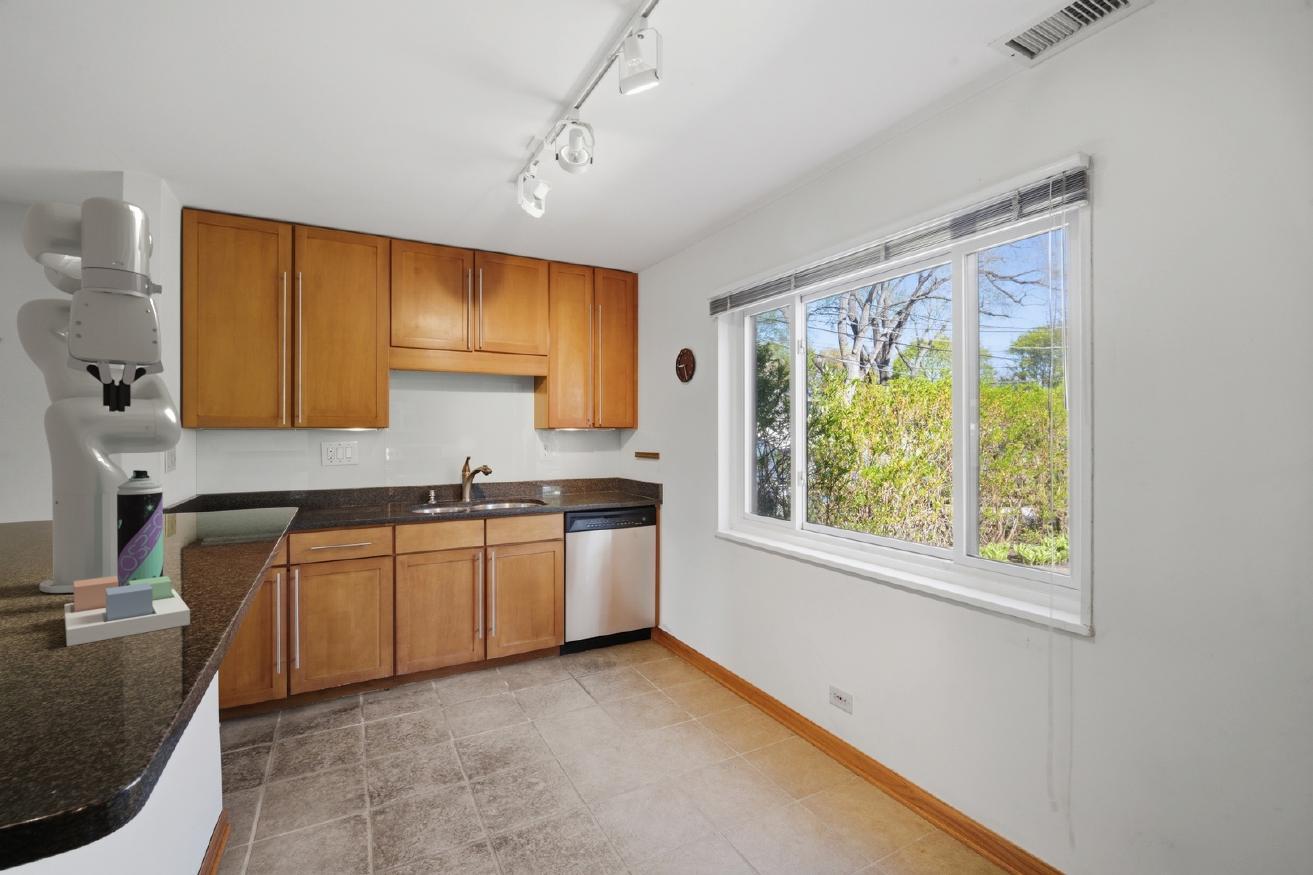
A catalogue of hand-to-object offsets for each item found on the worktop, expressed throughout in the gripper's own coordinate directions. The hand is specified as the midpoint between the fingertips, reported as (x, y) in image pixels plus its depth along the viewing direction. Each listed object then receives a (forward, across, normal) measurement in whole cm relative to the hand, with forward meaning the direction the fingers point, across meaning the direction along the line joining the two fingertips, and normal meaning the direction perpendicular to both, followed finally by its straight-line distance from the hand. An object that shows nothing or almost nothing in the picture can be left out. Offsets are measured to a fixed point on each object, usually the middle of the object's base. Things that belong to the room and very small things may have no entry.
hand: (116, 411), depth 90 cm
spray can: (+29, -3, -5) cm, 30 cm away
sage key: (+28, -3, +6) cm, 29 cm away
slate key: (+27, 0, +14) cm, 30 cm away
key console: (+29, 0, +10) cm, 31 cm away
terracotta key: (+27, +3, +5) cm, 28 cm away
